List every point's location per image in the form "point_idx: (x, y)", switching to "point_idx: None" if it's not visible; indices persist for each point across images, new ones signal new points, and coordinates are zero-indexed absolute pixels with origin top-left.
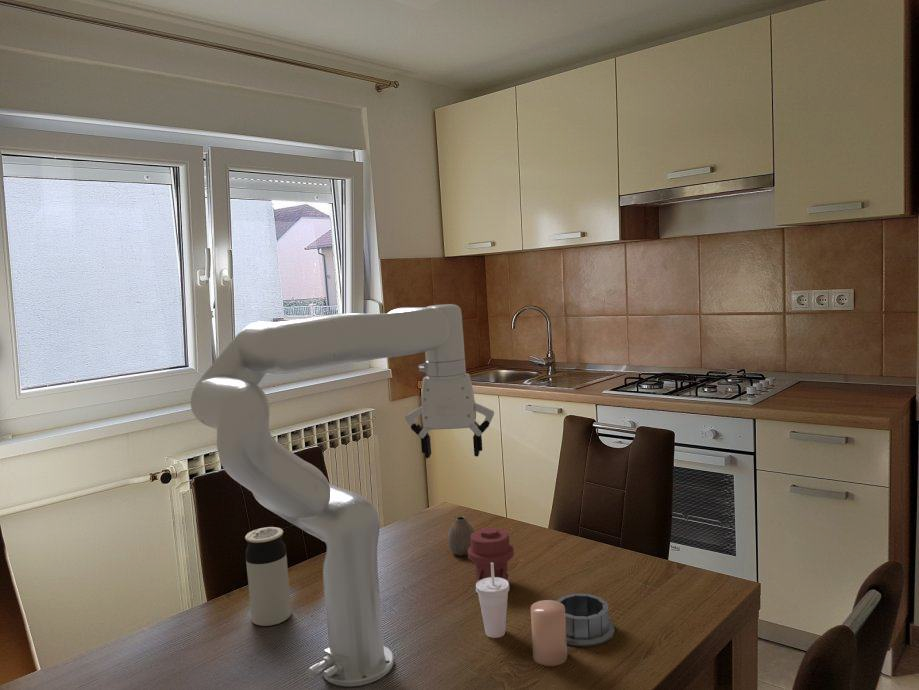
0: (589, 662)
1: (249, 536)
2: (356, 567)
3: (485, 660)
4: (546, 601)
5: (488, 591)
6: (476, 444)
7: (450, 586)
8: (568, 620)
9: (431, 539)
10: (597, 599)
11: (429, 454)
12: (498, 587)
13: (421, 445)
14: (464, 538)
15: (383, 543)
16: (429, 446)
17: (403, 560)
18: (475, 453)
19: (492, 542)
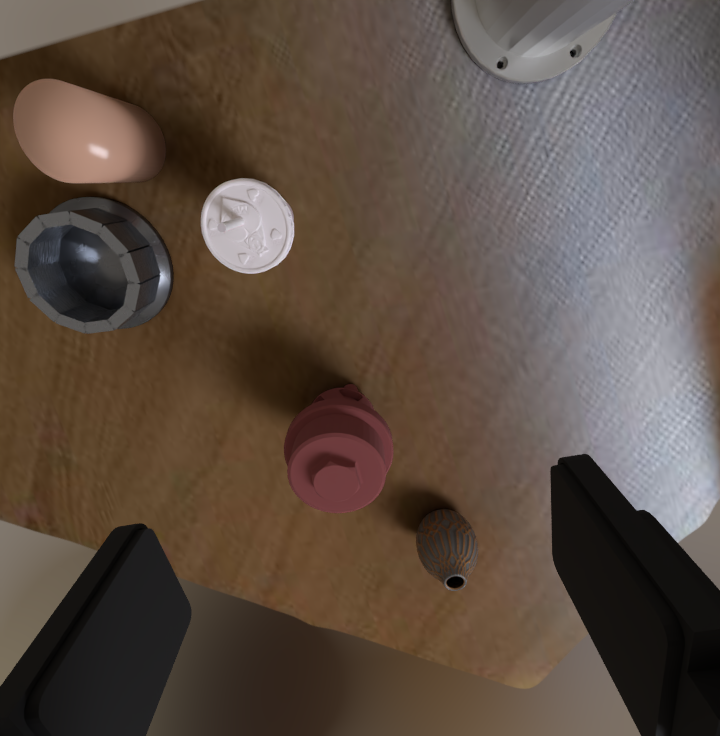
0: None
1: None
2: None
3: (254, 93)
4: (81, 172)
5: (240, 180)
6: (55, 618)
7: (426, 388)
8: (87, 215)
9: (520, 562)
10: (56, 311)
11: (559, 509)
12: (222, 210)
13: (696, 565)
14: (435, 533)
15: None
16: (592, 590)
17: None
18: (122, 538)
19: (315, 437)
